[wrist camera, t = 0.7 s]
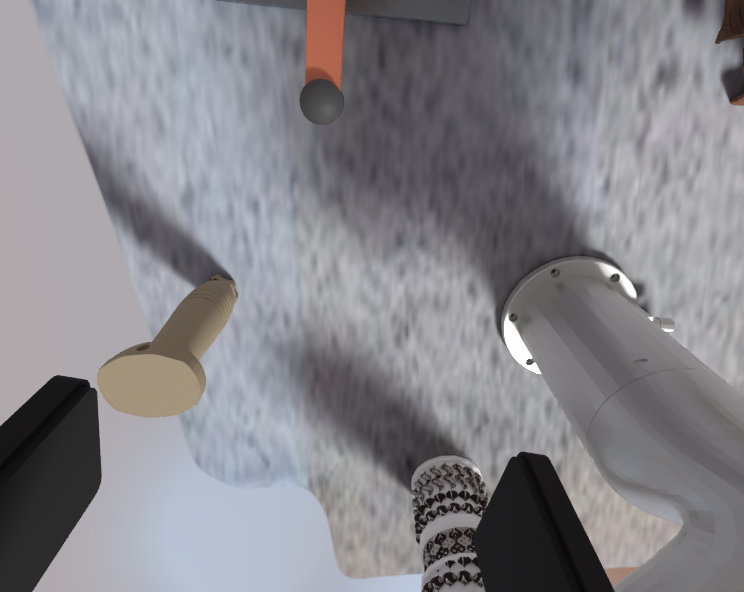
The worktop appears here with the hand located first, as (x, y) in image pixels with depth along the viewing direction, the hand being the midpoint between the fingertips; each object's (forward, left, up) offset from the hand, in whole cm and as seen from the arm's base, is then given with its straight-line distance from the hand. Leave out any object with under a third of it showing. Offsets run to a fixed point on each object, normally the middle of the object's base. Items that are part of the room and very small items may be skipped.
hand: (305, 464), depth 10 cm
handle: (+12, +10, -31) cm, 34 cm away
